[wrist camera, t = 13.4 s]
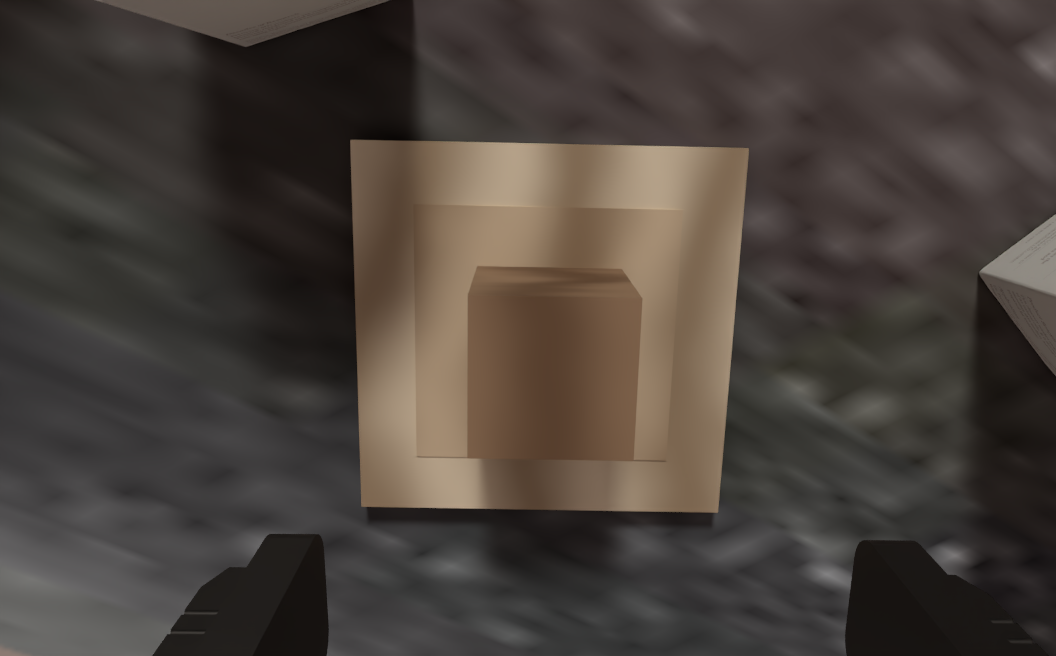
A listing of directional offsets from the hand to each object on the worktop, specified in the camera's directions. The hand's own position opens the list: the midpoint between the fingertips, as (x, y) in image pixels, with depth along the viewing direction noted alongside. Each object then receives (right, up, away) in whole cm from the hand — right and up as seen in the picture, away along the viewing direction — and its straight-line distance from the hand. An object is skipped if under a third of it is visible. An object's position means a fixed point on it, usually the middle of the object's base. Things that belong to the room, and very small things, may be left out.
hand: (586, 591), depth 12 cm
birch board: (0, +4, +23) cm, 23 cm away
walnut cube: (0, +4, +22) cm, 22 cm away
